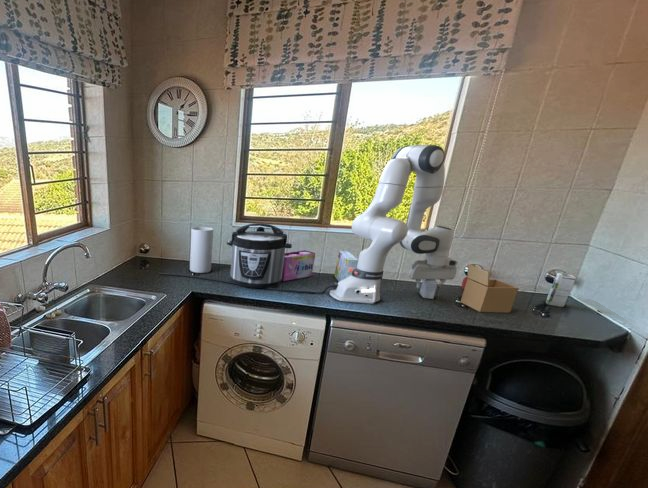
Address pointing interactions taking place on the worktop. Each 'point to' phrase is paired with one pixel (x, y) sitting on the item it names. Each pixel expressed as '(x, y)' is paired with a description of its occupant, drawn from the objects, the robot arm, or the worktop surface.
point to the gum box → (298, 265)
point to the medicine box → (428, 288)
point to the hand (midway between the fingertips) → (428, 287)
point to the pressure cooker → (257, 256)
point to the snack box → (345, 265)
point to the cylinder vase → (201, 249)
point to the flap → (478, 275)
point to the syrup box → (560, 289)
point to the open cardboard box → (489, 296)
